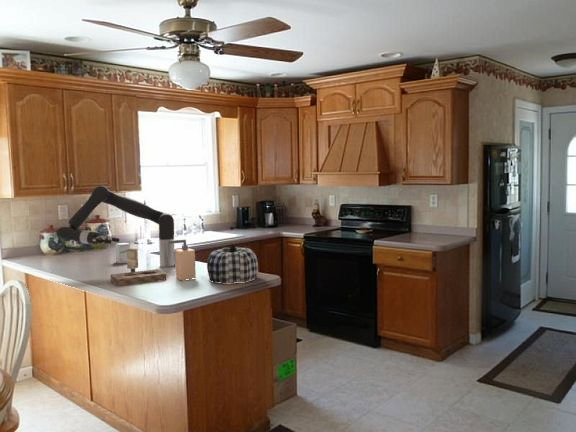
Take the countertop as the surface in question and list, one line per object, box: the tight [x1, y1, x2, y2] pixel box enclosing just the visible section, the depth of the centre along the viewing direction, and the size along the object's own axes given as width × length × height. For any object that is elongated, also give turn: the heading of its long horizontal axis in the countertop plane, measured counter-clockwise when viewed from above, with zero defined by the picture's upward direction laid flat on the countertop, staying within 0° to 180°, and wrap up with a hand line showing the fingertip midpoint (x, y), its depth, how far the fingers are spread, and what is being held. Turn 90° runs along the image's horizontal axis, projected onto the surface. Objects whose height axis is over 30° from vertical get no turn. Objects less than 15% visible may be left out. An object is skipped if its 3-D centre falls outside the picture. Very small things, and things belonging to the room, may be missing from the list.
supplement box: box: [115, 242, 131, 264], centre depth 345 cm, size 7×7×13 cm
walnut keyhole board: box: [110, 268, 167, 287], centre depth 287 cm, size 26×16×4 cm, turn 122°
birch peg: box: [126, 247, 139, 272], centre depth 299 cm, size 5×5×16 cm
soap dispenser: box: [169, 239, 197, 281], centre depth 288 cm, size 13×9×22 cm
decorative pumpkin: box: [206, 244, 259, 283], centre depth 285 cm, size 30×29×20 cm
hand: (115, 241), depth 300 cm, fingers open, 8 cm apart
